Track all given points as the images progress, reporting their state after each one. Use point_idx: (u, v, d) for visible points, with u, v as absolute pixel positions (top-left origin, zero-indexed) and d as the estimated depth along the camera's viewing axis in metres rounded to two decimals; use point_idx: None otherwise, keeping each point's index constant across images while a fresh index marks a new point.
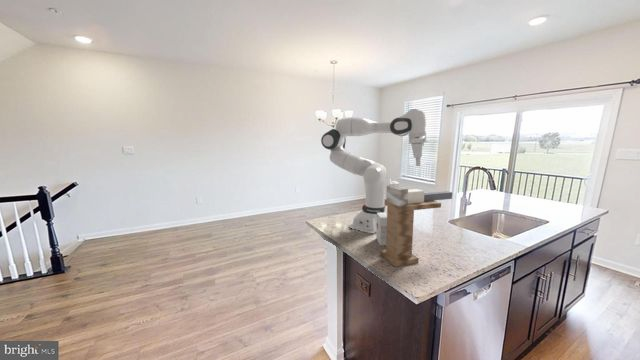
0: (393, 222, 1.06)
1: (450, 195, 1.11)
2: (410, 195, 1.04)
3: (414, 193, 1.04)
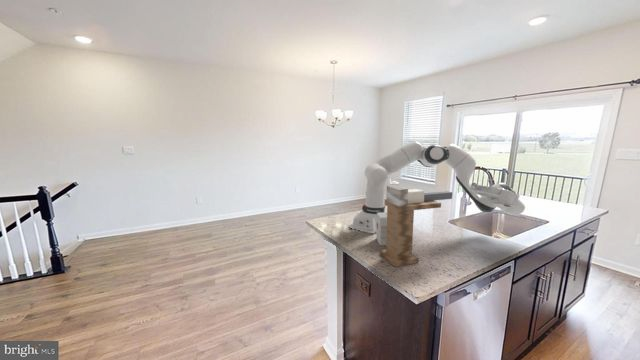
0: (393, 222, 1.06)
1: (450, 195, 1.11)
2: (410, 195, 1.04)
3: (414, 193, 1.04)
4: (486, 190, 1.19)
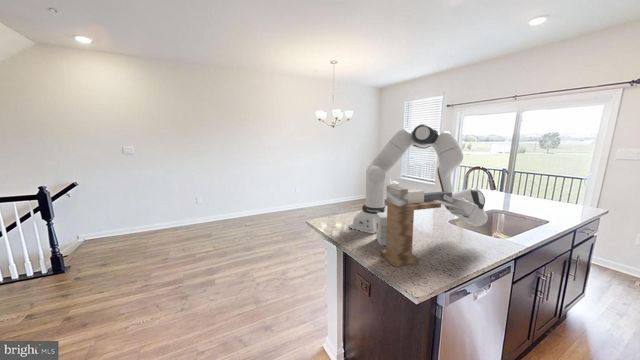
0: (393, 222, 1.06)
1: (450, 195, 1.11)
2: (410, 195, 1.04)
3: (414, 193, 1.04)
4: (445, 200, 1.14)
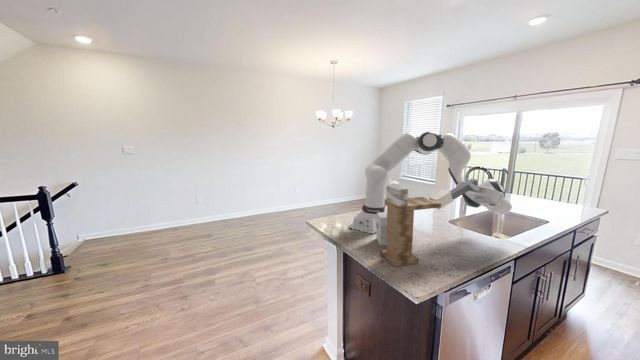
0: (393, 222, 1.06)
1: (475, 183, 1.14)
2: (439, 201, 1.09)
3: (442, 198, 1.09)
4: (471, 189, 1.17)
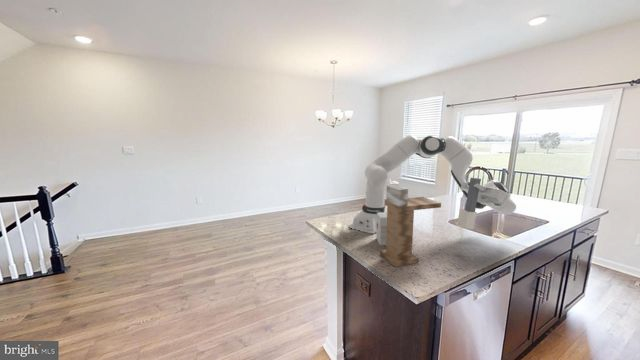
0: (393, 222, 1.06)
1: (477, 180, 1.14)
2: (468, 226, 1.15)
3: (467, 222, 1.15)
4: None
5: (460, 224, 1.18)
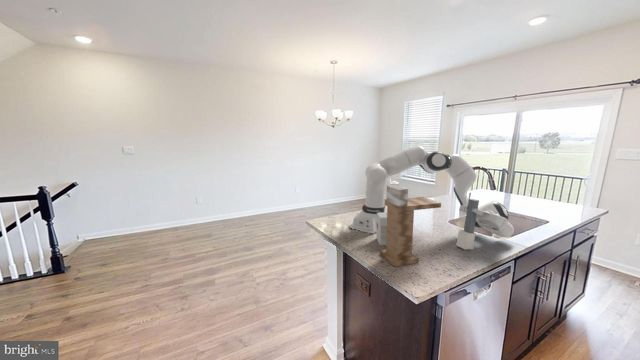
0: (393, 222, 1.06)
1: (476, 202, 1.16)
2: (467, 247, 1.17)
3: (466, 243, 1.17)
4: None
5: (459, 245, 1.20)
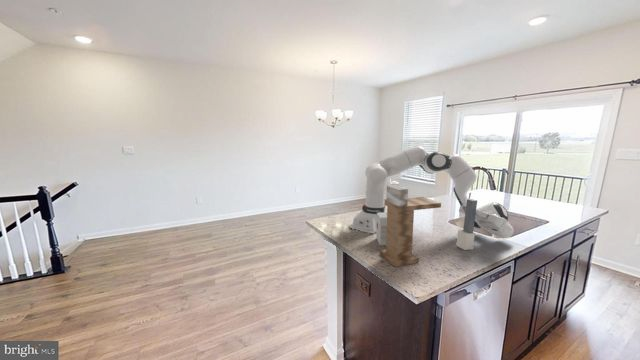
0: (393, 222, 1.06)
1: (474, 202, 1.15)
2: (467, 247, 1.17)
3: (466, 243, 1.17)
4: None
5: (459, 245, 1.20)
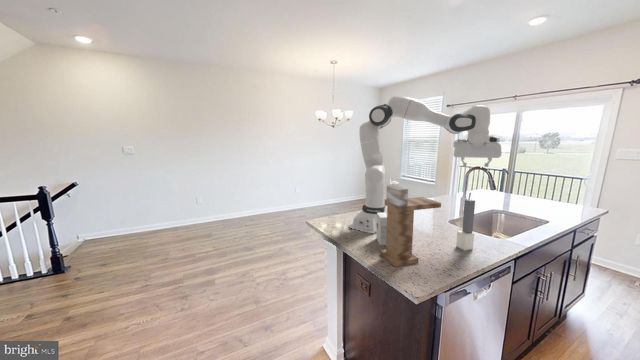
0: (393, 222, 1.06)
1: (472, 203, 1.15)
2: (467, 248, 1.17)
3: (466, 244, 1.17)
4: None
5: (459, 246, 1.20)
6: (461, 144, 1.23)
